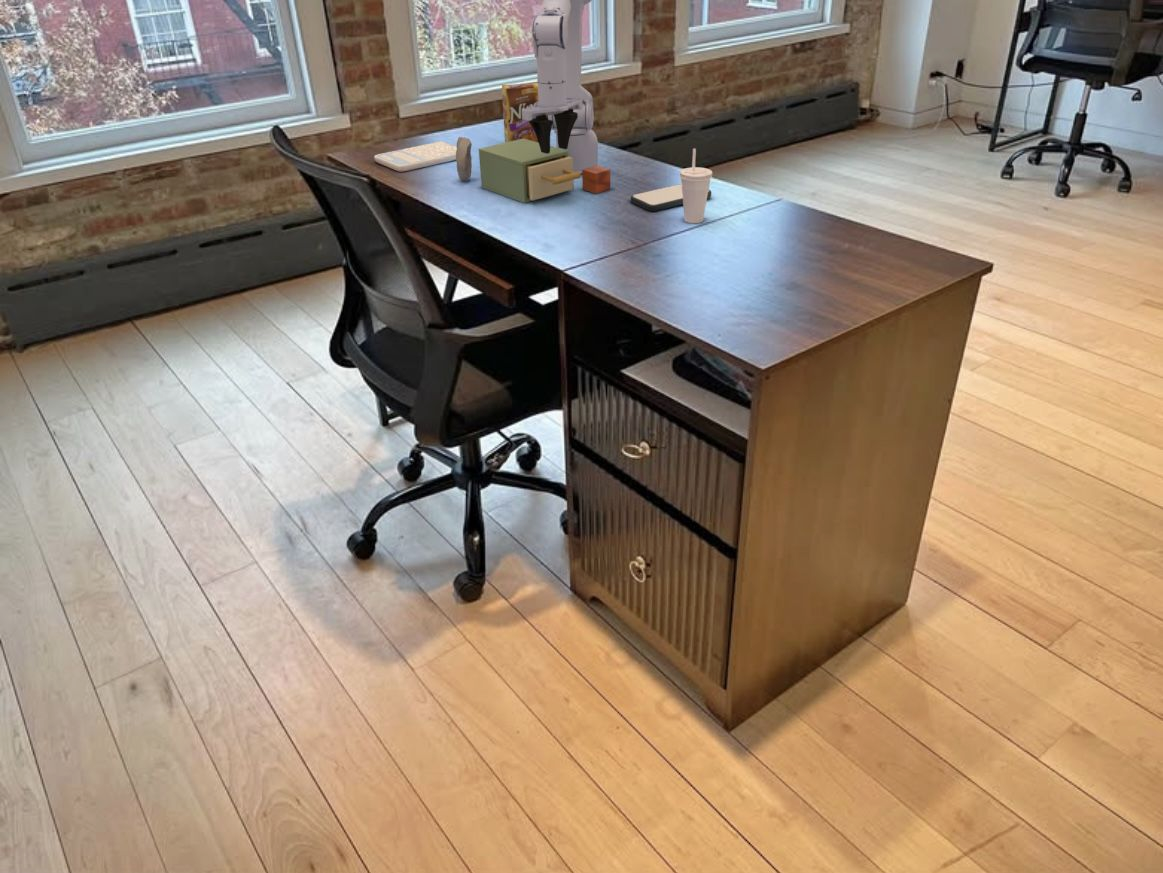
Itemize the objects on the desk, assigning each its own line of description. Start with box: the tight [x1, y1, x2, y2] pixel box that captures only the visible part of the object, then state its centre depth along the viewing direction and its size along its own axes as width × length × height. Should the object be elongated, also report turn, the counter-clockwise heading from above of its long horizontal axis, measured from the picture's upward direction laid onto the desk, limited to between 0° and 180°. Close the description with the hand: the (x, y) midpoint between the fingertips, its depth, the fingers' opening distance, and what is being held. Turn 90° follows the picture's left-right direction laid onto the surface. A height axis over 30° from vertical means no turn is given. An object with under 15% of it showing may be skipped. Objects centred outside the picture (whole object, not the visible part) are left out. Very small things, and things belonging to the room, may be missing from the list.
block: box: [581, 165, 611, 194], centre depth 193 cm, size 4×4×4 cm
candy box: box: [501, 82, 539, 143], centre depth 222 cm, size 9×4×15 cm, turn 110°
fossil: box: [455, 136, 473, 182], centre depth 199 cm, size 6×4×10 cm, turn 168°
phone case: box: [630, 183, 712, 212], centre depth 187 cm, size 9×2×16 cm
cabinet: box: [478, 138, 570, 204], centre depth 193 cm, size 16×13×9 cm
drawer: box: [525, 157, 582, 201], centre depth 190 cm, size 19×11×7 cm, turn 41°
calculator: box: [374, 140, 457, 173], centre depth 218 cm, size 13×20×2 cm, turn 129°
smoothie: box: [679, 148, 713, 224], centre depth 172 cm, size 6×6×14 cm
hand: (554, 150), depth 183 cm, fingers open, 4 cm apart
